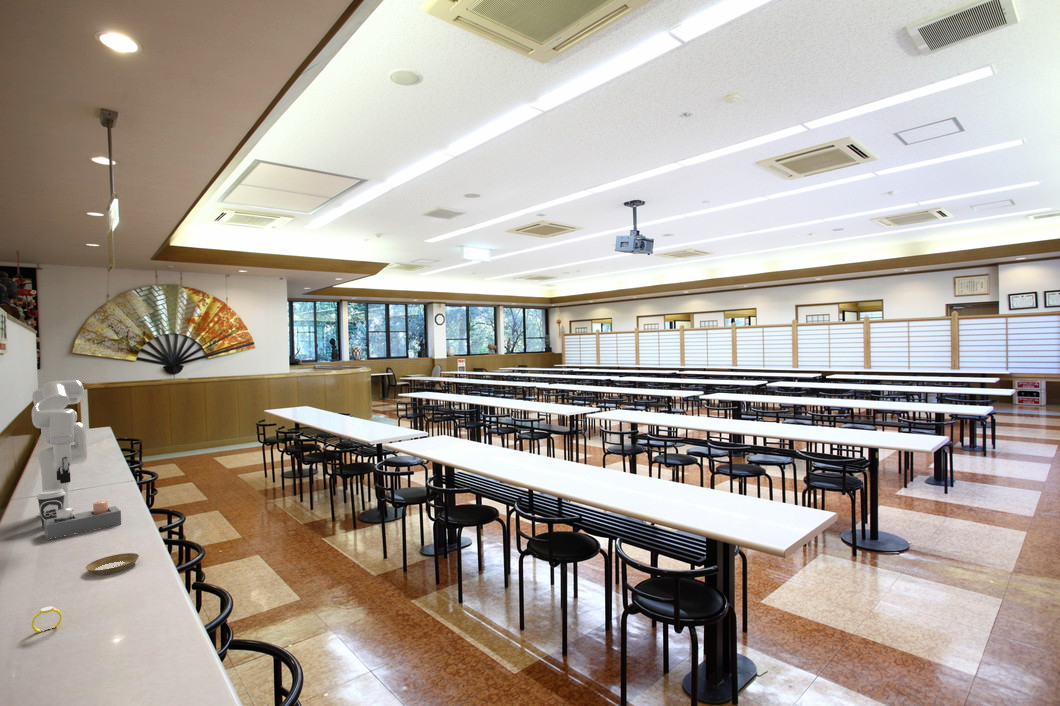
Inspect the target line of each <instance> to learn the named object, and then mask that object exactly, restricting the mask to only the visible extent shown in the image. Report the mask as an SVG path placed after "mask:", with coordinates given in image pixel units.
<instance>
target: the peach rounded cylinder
mask: <svg viewBox="0 0 1060 706" xmlns="http://www.w3.org/2000/svg"><path fill="white" fill-rule="evenodd" d="M92 504H93V505H92V507H93V509H92V511H93V513H94V515H96V514H101V513H106V512H108V507H109V503H108V500H101V501H96V502H94V503H92Z"/></svg>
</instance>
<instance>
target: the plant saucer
mask: <svg viewBox="0 0 1060 706" xmlns="http://www.w3.org/2000/svg"><path fill="white" fill-rule="evenodd" d="M139 558H140V555H139V554H138V553H134V552H126V553H119V554H112V555H108V556H104V557H102V558H98V559H95V560H94V561H91V562H90V563H88V564H87V565H86V566H85V567H84V568H85V570H87V571H88V572H89V573H91V574H93V575H97V574H98V575H99V574H103V575H110V574H114V573H119V572H122V571H124V570H126V568H127V569H129V568H130V567H132V566H133V565H134V564H135V563H136V562H137V561H138V559H139ZM120 561H121V562H122V561H123V562H125V563H123V564H122V565H121V564H120V566H118V565H117V567H114V566H113V567H114V568H109V569H103V570H95V569H96V568H98V567H100V566H102V565H105V564H109V563H114V562H120ZM121 570H122V571H121ZM98 575H97V576H98ZM99 576H100V575H99Z"/></svg>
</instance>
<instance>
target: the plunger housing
mask: <svg viewBox="0 0 1060 706" xmlns="http://www.w3.org/2000/svg"><path fill="white" fill-rule="evenodd" d="M72 515H73V519H71V520H65V521H60V522H57V518H52V519H46V520H44V527H43V530H44V531H43V535H44V534H45V535H44V536H45V538H46V537H47V538H46V539H47V540H48V539H50V538H55V537H60V536H64V535H69V536H71V535H70V534H74V533H78V534H81V533H80V532H83V533H86V532H85V531H87V532H91V531H90V530H92V531H95V530H94V529H97V530H100V529H99V528H101V529H105V528H104V527H106V528H110V527H109V526H111V527H114V525H115V526H119V524H120V525H122V510H121V509H119V508H118V507H117V506H115V505H114V506H108V512H106V513H101V514H96V515H94V513H93V510H89V511H82V512H78V513H72ZM74 535H75V534H74ZM64 537H65V536H64ZM60 538H61V537H60ZM55 539H56V538H55Z"/></svg>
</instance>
